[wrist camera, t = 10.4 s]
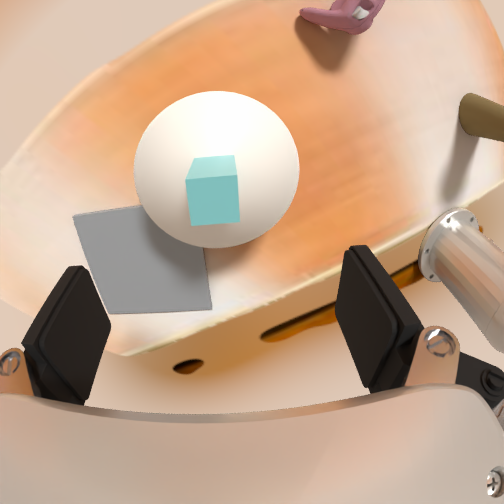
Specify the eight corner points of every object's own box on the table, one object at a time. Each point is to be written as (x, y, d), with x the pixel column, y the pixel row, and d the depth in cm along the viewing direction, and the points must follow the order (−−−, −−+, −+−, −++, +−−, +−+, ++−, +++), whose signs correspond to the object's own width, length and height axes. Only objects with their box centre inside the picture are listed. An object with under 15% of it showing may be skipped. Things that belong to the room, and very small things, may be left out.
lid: (296, 89, 19) (324, 89, 14) (294, 236, 26) (313, 280, 20) (127, 103, 18) (93, 110, 13) (152, 248, 25) (135, 293, 20)
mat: (196, 199, 29) (195, 201, 29) (212, 306, 37) (212, 309, 37) (74, 215, 29) (72, 216, 28) (109, 311, 37) (108, 313, 36)
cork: (461, 86, 24) (526, 101, 14) (487, 101, 24) (546, 119, 15) (455, 129, 27) (518, 154, 17) (481, 140, 27) (538, 166, 18)
